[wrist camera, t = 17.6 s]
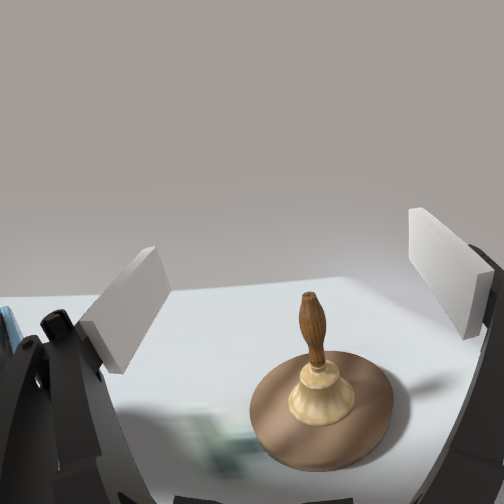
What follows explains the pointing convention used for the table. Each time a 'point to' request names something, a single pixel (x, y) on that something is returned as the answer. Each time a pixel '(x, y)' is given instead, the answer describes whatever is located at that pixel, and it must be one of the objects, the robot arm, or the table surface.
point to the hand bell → (318, 374)
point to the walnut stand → (330, 436)
